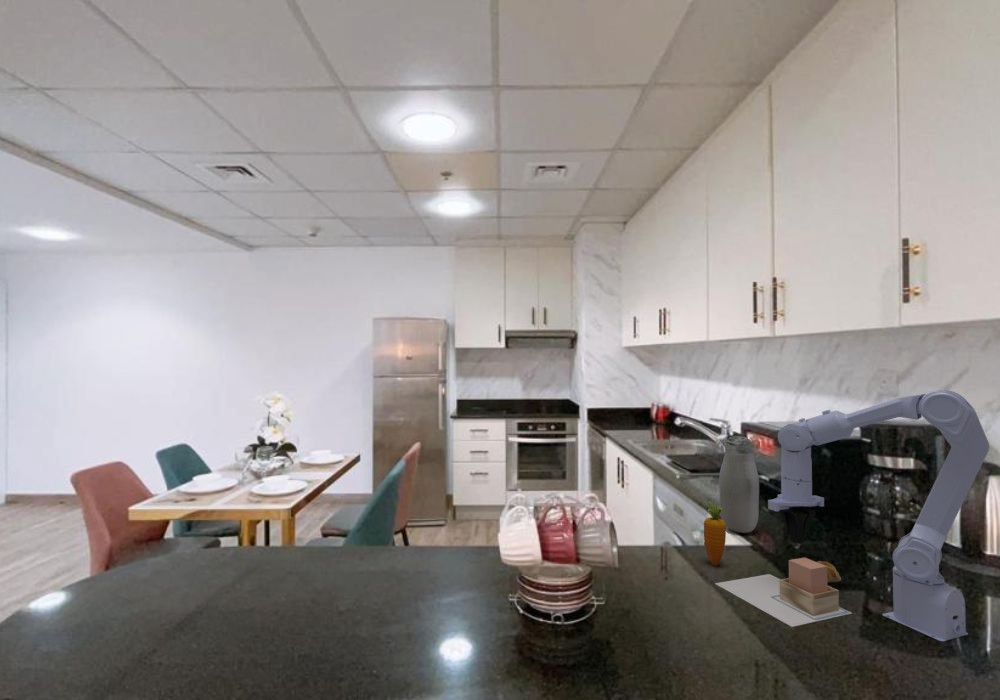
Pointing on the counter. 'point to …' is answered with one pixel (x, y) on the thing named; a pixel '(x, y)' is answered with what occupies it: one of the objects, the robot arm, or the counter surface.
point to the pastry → (831, 572)
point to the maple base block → (809, 599)
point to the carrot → (714, 535)
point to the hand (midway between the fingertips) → (796, 541)
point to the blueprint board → (773, 600)
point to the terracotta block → (808, 575)
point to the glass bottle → (739, 486)
